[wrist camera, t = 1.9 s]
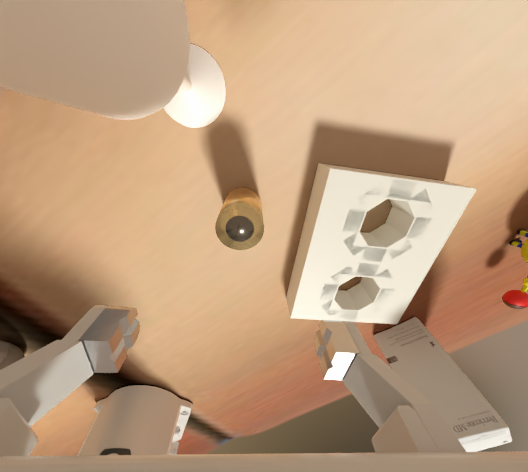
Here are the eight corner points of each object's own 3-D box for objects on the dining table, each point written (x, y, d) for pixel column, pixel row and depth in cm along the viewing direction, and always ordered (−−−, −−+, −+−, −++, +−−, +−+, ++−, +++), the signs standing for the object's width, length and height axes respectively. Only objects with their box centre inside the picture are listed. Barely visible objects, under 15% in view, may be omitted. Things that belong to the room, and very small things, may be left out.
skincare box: (415, 315, 35) (514, 424, 22) (424, 333, 38) (518, 443, 24) (369, 335, 37) (435, 448, 24) (381, 352, 39) (447, 463, 26)
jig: (381, 304, 34) (397, 324, 30) (286, 297, 32) (290, 318, 28) (444, 181, 25) (476, 188, 21) (318, 163, 23) (330, 168, 20)
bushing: (258, 223, 26) (260, 251, 20) (223, 220, 26) (214, 247, 19) (263, 189, 24) (267, 209, 18) (225, 185, 24) (216, 203, 18)
